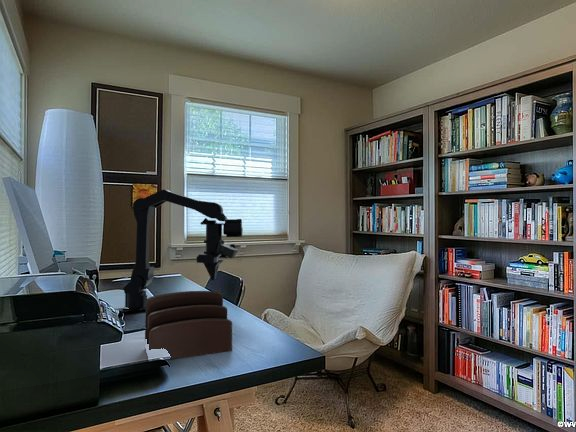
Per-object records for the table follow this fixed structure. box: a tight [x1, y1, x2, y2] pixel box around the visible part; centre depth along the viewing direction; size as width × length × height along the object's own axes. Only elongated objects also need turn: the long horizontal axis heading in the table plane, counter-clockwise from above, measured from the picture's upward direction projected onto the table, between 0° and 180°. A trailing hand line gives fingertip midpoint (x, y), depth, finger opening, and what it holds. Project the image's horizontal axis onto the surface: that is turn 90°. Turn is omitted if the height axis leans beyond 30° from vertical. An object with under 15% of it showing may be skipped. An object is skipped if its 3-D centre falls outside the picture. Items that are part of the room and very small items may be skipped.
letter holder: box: [144, 290, 233, 360], centre depth 94 cm, size 10×20×14 cm, turn 116°
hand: (213, 280), depth 136 cm, fingers closed
